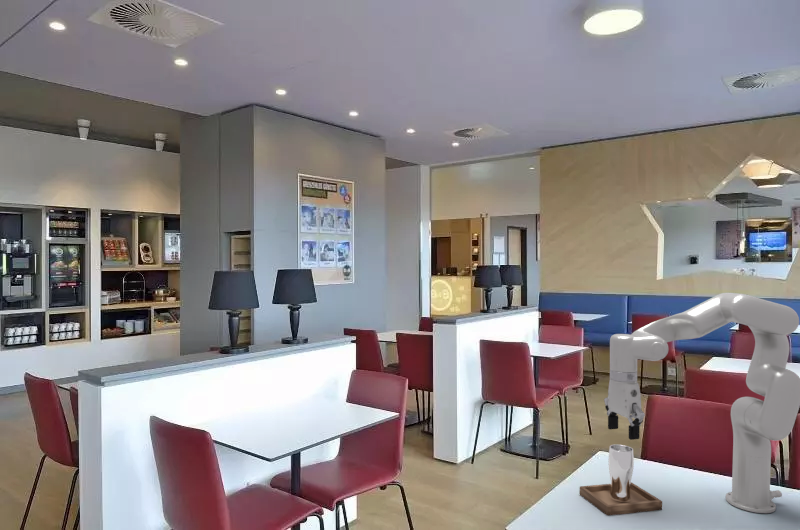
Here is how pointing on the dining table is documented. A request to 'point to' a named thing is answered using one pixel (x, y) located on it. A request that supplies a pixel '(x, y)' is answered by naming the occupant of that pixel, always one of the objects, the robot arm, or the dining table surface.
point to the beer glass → (620, 472)
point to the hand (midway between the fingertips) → (623, 433)
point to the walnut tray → (604, 503)
